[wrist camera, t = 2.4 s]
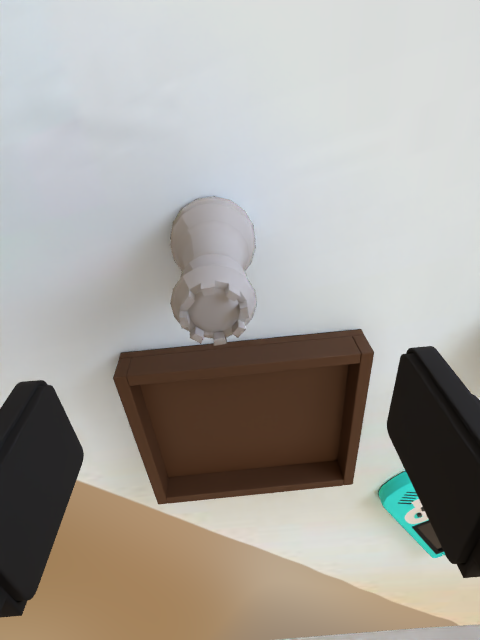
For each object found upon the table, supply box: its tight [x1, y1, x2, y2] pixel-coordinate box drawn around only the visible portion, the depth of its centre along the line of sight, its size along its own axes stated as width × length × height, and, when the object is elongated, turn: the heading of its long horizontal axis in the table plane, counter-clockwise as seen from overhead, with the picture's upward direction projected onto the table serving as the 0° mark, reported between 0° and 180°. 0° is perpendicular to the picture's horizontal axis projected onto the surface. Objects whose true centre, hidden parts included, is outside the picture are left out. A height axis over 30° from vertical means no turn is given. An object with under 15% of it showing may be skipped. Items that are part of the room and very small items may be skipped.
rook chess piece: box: [170, 196, 257, 346], centre depth 17 cm, size 4×4×8 cm
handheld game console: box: [379, 471, 445, 558], centre depth 36 cm, size 10×16×1 cm, turn 36°
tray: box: [113, 329, 374, 504], centre depth 27 cm, size 16×14×2 cm
